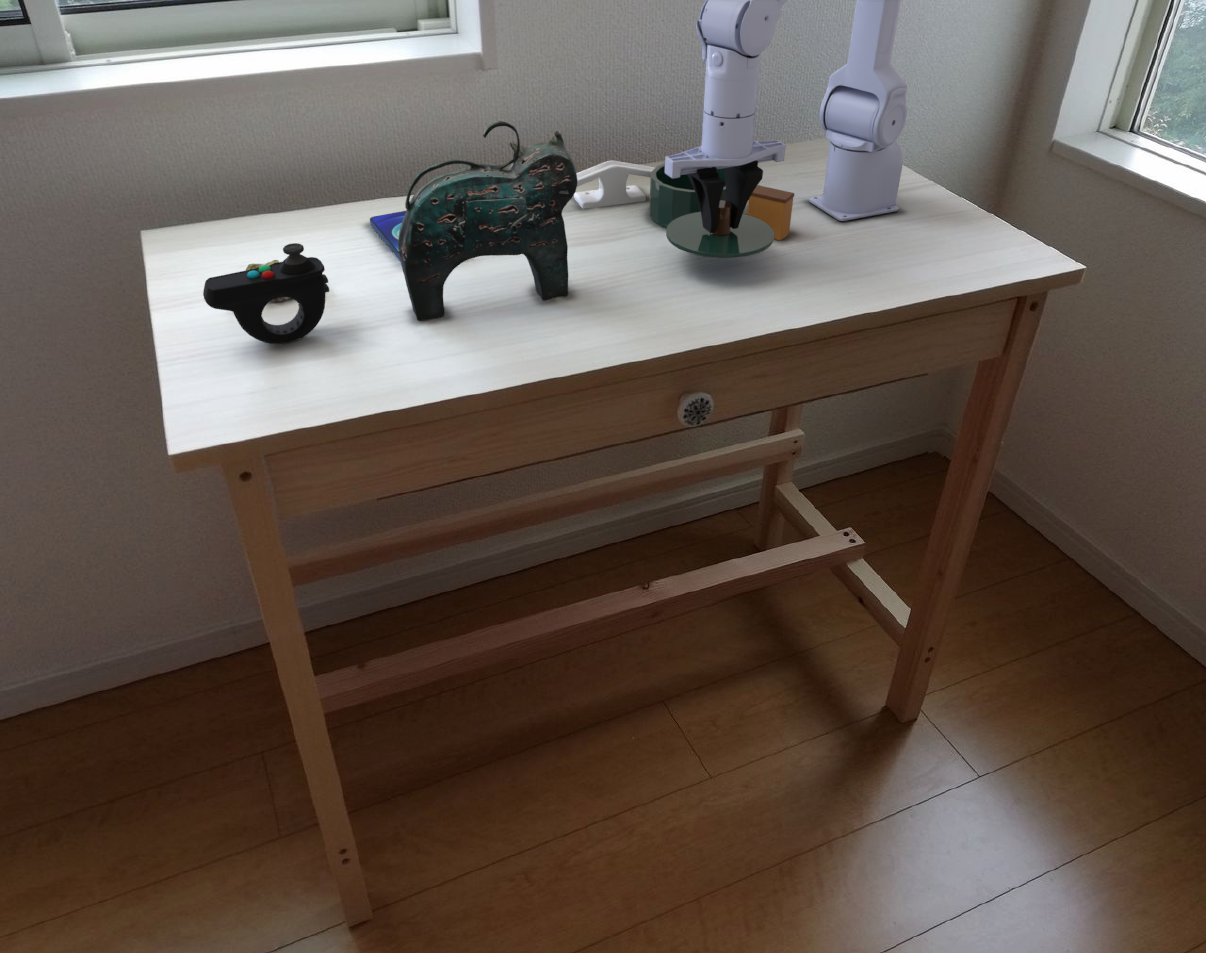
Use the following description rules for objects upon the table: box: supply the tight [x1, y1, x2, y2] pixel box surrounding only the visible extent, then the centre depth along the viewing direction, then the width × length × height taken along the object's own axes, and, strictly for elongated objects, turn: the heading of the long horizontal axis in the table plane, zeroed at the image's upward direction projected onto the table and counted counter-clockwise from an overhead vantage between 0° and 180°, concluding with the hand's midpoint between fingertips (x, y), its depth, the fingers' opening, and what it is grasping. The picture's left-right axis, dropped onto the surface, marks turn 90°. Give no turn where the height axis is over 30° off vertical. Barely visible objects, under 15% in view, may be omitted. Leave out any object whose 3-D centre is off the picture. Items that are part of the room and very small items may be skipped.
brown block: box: [746, 184, 795, 241], centre depth 127 cm, size 5×3×6 cm, turn 57°
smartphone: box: [369, 210, 406, 262], centre depth 127 cm, size 8×1×15 cm
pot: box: [649, 162, 726, 229], centre depth 132 cm, size 12×12×6 cm
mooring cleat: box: [573, 160, 656, 210], centre depth 137 cm, size 4×20×5 cm, turn 108°
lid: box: [665, 200, 775, 259], centre depth 118 cm, size 13×13×4 cm
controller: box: [202, 242, 330, 345], centre depth 103 cm, size 4×12×10 cm, turn 117°
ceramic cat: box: [398, 120, 578, 321], centre depth 107 cm, size 20×6×20 cm, turn 110°
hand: (720, 227), depth 118 cm, fingers closed on lid, 2 cm apart
